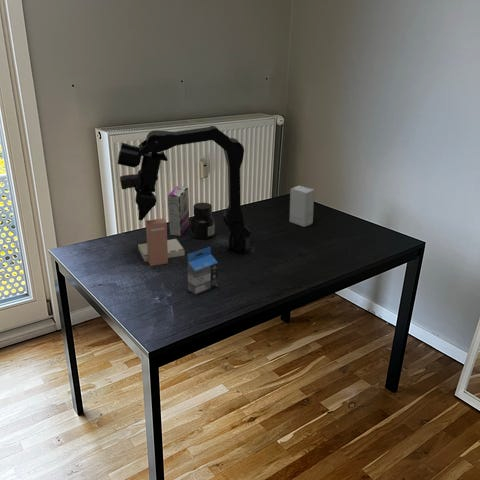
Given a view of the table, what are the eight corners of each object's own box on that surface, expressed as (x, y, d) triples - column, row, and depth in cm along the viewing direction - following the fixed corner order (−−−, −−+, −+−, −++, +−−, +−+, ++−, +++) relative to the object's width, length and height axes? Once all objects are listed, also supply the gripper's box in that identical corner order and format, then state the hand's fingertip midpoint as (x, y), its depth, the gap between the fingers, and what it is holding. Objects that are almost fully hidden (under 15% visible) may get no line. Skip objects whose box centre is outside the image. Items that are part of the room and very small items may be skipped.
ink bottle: (215, 239, 179) (215, 210, 174) (191, 240, 178) (191, 210, 173) (213, 229, 188) (213, 200, 183) (190, 230, 187) (190, 201, 182)
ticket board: (176, 243, 175) (176, 238, 174) (184, 255, 167) (184, 249, 166) (138, 249, 170) (138, 244, 169) (144, 261, 162) (144, 256, 161)
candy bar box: (177, 224, 192) (176, 185, 185) (189, 225, 191) (189, 186, 184) (168, 235, 182) (167, 194, 175) (181, 236, 181) (180, 195, 174)
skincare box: (312, 224, 196) (316, 189, 190) (303, 227, 192) (306, 192, 186) (297, 218, 201) (299, 184, 195) (287, 221, 198) (290, 187, 191)
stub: (165, 258, 164) (163, 218, 158) (168, 263, 161) (166, 222, 155) (148, 261, 162) (145, 220, 155) (150, 266, 159) (148, 224, 152)
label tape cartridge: (195, 295, 143) (194, 258, 138) (187, 290, 146) (186, 254, 140) (218, 286, 148) (218, 250, 143) (210, 281, 151) (210, 246, 146)
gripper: (123, 157, 159) (115, 200, 165) (124, 174, 143) (114, 221, 148) (157, 164, 162) (147, 206, 168) (161, 181, 146) (150, 227, 152)
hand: (139, 214), depth 159 cm, fingers open, 9 cm apart
